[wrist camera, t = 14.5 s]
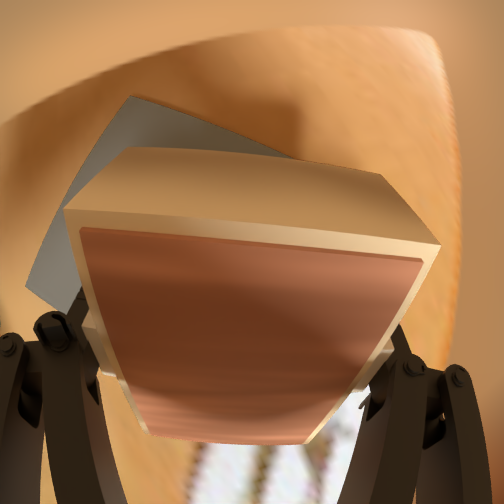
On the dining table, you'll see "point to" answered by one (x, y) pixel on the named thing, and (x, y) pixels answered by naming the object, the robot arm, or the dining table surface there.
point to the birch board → (242, 286)
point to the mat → (105, 150)
